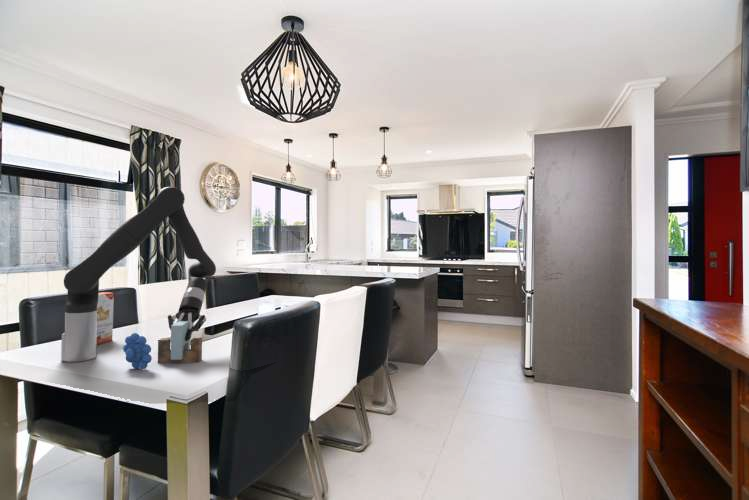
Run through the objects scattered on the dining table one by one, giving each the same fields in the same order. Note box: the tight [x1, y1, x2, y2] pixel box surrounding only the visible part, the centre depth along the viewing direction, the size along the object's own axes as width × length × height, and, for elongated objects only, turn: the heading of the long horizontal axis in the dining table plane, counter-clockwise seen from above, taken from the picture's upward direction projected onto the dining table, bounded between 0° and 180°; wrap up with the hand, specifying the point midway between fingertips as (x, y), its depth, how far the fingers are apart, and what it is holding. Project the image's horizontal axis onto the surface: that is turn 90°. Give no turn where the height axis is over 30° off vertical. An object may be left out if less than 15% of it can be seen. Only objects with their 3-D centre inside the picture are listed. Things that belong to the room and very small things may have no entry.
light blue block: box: [170, 321, 191, 360], centre depth 139 cm, size 4×8×12 cm, turn 7°
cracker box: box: [96, 291, 115, 345], centre depth 160 cm, size 14×6×21 cm, turn 168°
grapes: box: [122, 332, 153, 370], centre depth 128 cm, size 12×7×12 cm, turn 72°
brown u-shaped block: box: [157, 337, 203, 364], centre depth 139 cm, size 14×3×8 cm, turn 97°
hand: (180, 339), depth 138 cm, fingers closed on light blue block, 3 cm apart
